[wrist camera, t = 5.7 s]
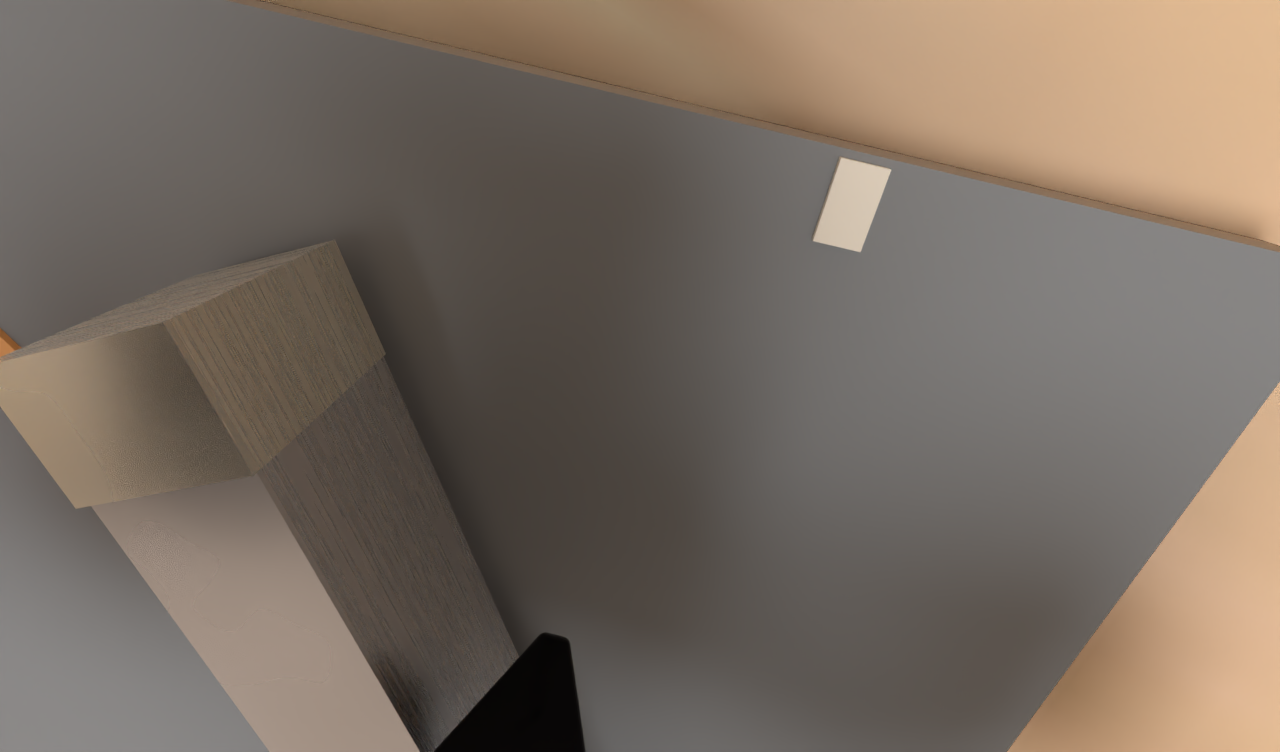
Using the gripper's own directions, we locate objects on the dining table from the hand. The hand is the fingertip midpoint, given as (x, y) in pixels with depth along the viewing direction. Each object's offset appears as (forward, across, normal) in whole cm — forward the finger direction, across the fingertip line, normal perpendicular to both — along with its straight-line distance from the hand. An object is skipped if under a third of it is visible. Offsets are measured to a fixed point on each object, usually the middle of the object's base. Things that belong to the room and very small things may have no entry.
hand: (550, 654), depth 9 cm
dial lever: (+1, +1, +4) cm, 4 cm away
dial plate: (+3, +2, +3) cm, 4 cm away
